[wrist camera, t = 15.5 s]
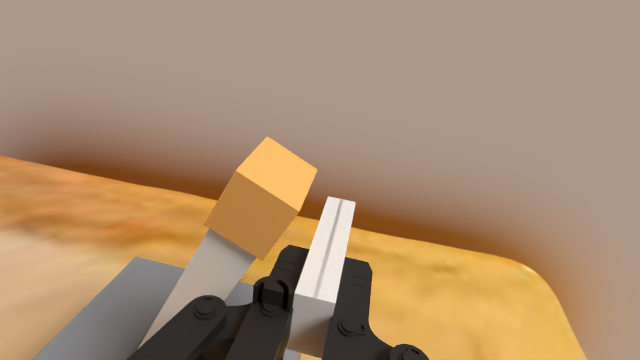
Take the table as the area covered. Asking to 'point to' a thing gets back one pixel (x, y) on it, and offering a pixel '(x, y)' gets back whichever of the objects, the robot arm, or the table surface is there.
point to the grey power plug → (127, 314)
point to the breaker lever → (242, 226)
